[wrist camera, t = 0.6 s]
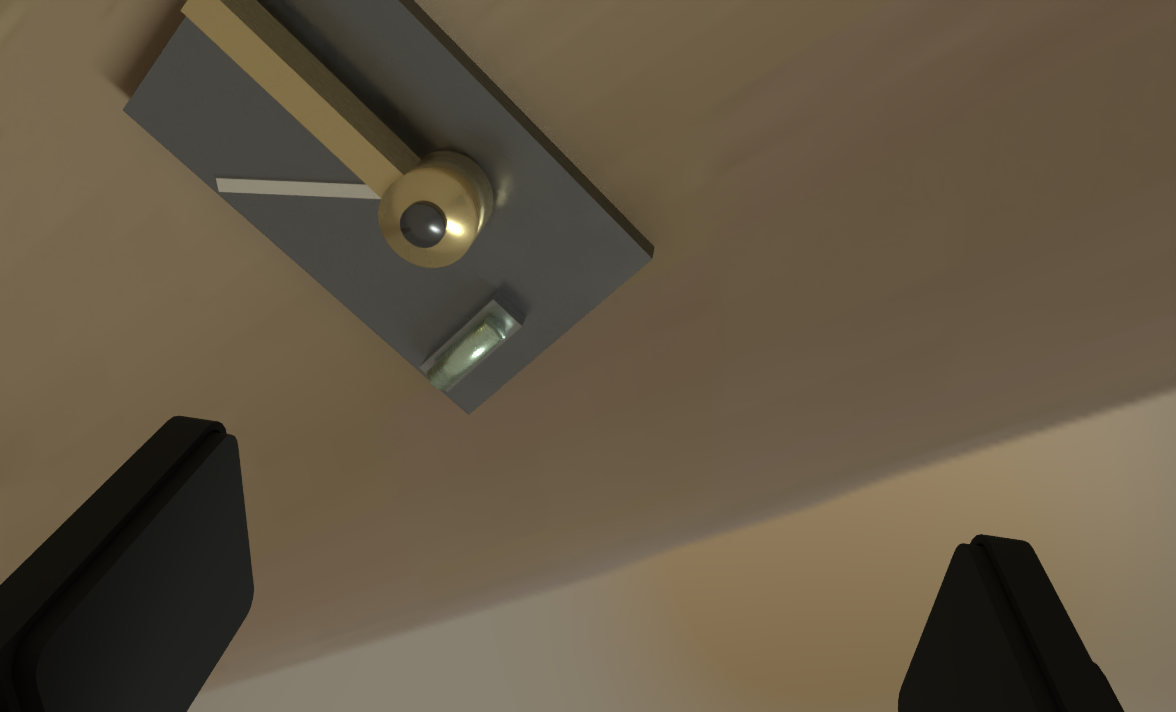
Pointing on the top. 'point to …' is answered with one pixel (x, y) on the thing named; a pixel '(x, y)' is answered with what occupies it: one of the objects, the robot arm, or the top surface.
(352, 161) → the lever with round hub
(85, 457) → the top surface
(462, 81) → the flat grey rectangular plate
